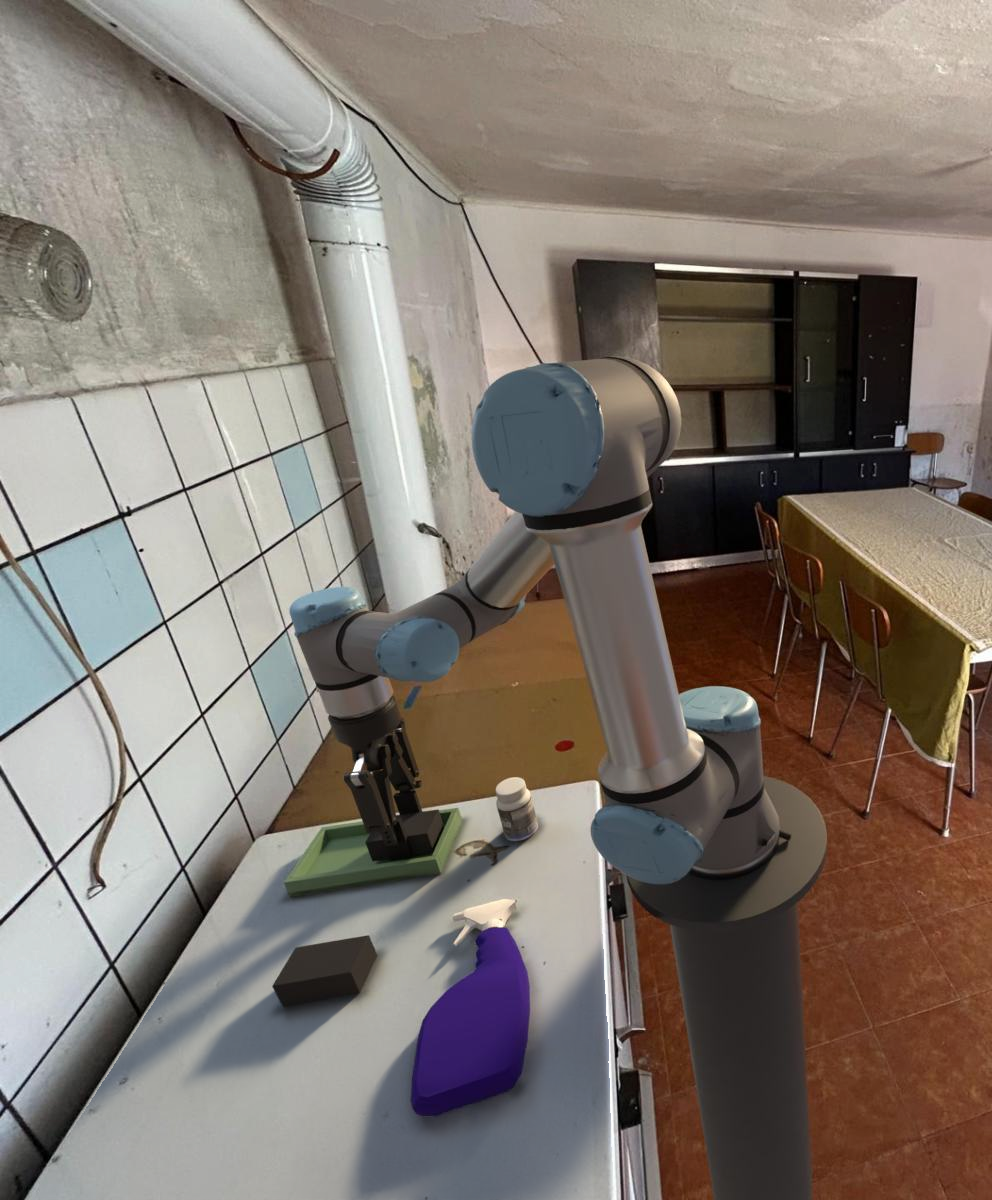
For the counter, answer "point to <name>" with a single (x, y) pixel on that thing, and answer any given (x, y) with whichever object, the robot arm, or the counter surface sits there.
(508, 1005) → the spray bottle
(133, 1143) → the counter surface
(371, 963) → the dark brown rectangular block
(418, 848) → the pad
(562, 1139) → the counter surface
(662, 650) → the robot arm
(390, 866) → the tray
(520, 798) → the pill bottle
